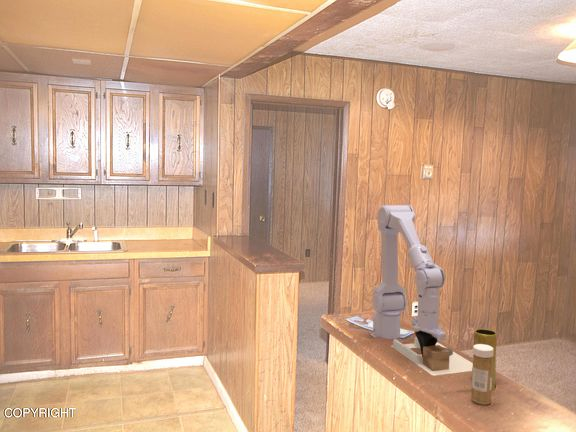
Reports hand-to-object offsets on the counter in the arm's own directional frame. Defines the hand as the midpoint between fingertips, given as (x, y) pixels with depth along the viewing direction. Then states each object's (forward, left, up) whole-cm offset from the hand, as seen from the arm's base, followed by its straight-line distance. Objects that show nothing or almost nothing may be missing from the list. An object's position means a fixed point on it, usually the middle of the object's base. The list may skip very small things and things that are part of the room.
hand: (426, 357), depth 143 cm
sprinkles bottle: (+22, +1, -3) cm, 23 cm away
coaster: (-5, +8, -1) cm, 9 cm away
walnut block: (+4, 0, -1) cm, 4 cm away
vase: (+15, +7, -3) cm, 17 cm away
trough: (-5, 0, -1) cm, 5 cm away
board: (-2, +4, -2) cm, 5 cm away
